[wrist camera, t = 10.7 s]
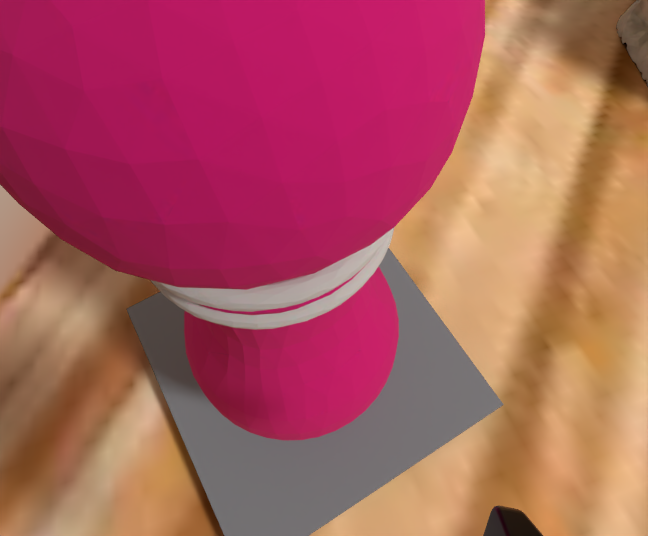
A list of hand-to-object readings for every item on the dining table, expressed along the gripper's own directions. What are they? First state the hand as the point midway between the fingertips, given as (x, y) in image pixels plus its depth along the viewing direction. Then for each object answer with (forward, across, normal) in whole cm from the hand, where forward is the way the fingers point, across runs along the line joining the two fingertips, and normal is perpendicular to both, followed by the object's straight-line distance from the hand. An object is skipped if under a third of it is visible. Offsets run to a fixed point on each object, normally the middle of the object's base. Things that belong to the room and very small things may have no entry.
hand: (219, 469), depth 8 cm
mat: (+12, 0, +5) cm, 13 cm away
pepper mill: (+12, 0, +5) cm, 13 cm away
